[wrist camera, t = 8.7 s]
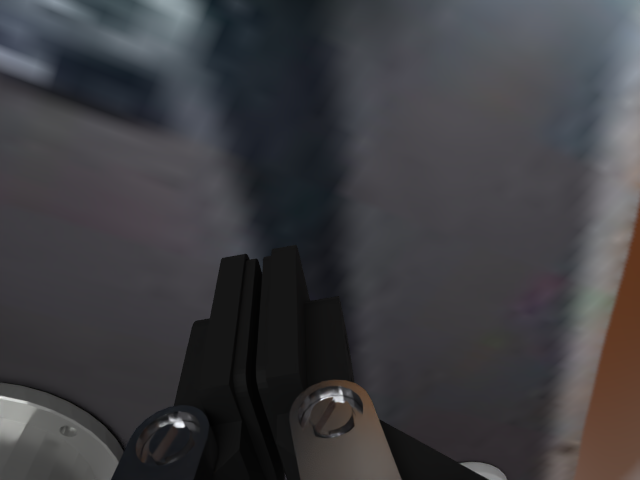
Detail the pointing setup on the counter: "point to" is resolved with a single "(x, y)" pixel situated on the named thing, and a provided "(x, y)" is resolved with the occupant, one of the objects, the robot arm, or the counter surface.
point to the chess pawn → (485, 470)
